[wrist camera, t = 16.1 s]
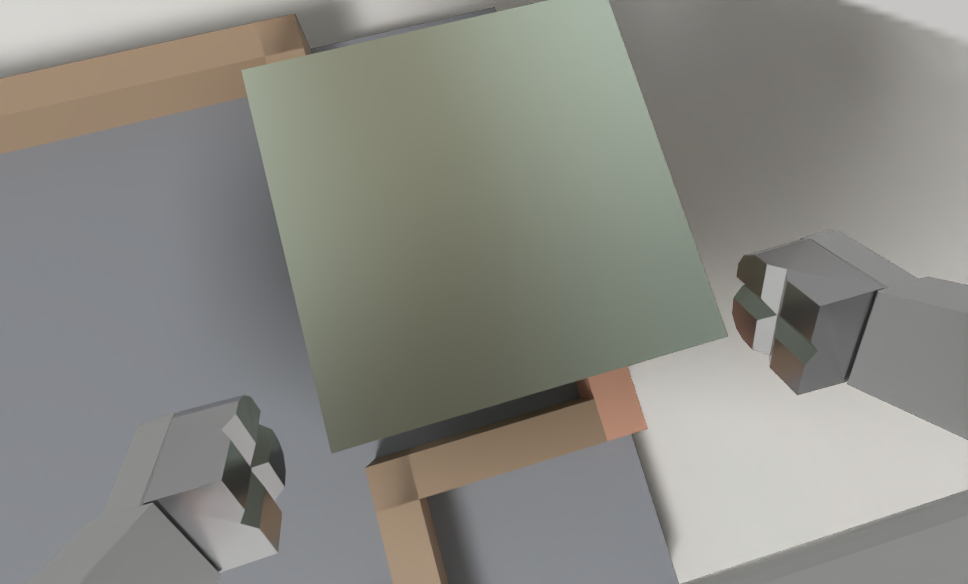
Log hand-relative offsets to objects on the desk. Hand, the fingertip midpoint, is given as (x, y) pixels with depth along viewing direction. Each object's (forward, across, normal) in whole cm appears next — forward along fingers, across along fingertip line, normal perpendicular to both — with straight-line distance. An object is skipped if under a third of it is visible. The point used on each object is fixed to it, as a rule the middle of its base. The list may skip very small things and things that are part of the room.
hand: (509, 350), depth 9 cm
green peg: (+5, 0, +3) cm, 6 cm away
